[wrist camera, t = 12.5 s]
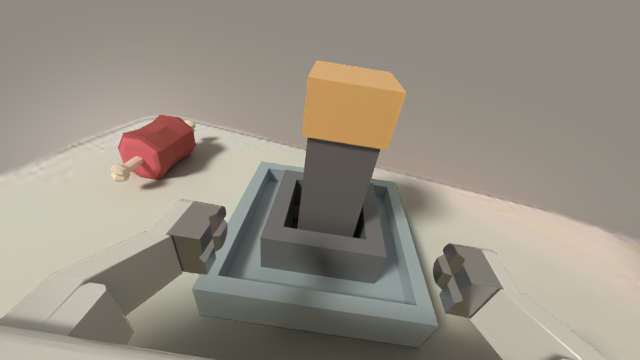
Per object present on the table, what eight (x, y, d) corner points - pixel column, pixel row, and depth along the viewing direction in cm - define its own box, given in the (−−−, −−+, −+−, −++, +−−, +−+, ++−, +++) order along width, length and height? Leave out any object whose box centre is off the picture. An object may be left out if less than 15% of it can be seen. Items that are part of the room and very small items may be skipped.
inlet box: (386, 204, 27) (400, 170, 24) (419, 347, 15) (450, 312, 13) (261, 184, 27) (261, 148, 24) (200, 315, 15) (187, 272, 13)
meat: (171, 132, 32) (174, 99, 29) (207, 148, 33) (213, 117, 30) (89, 184, 22) (82, 141, 20) (142, 205, 23) (142, 166, 20)
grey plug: (346, 229, 23) (390, 72, 15) (346, 271, 19) (406, 92, 11) (298, 221, 23) (317, 60, 15) (289, 263, 19) (308, 76, 11)
